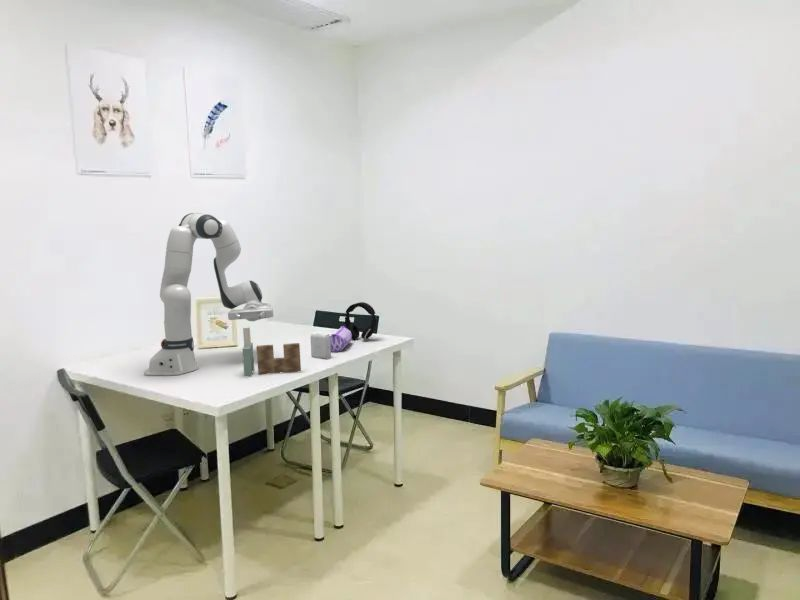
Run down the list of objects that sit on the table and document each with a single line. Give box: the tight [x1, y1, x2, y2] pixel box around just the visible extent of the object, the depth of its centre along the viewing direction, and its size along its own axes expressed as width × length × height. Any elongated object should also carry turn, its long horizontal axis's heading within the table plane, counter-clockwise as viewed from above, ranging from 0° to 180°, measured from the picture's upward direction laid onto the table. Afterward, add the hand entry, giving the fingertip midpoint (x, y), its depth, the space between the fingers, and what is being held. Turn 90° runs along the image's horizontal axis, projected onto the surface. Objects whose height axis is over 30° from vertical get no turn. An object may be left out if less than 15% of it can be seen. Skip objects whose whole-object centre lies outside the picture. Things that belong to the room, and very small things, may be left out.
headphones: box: [344, 301, 377, 341], centre depth 325 cm, size 18×8×20 cm, turn 61°
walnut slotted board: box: [256, 342, 302, 375], centre depth 266 cm, size 18×2×12 cm, turn 98°
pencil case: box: [330, 325, 353, 353], centre depth 310 cm, size 22×9×10 cm, turn 176°
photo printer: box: [310, 330, 332, 359], centre depth 291 cm, size 10×4×12 cm, turn 56°
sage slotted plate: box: [242, 326, 255, 377], centre depth 266 cm, size 3×12×20 cm, turn 8°
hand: (249, 316), depth 276 cm, fingers open, 8 cm apart
